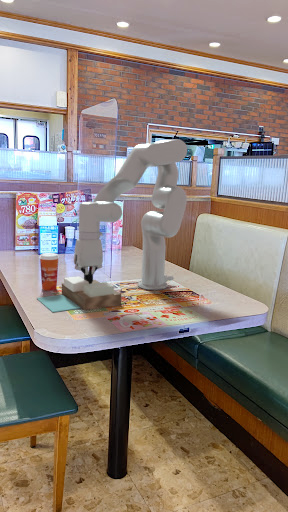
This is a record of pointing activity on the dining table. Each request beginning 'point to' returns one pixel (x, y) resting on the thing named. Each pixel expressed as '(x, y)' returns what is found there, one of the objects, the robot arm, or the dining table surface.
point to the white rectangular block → (75, 283)
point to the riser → (92, 298)
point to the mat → (58, 303)
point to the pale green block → (98, 289)
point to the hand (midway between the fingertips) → (88, 284)
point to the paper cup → (49, 271)
